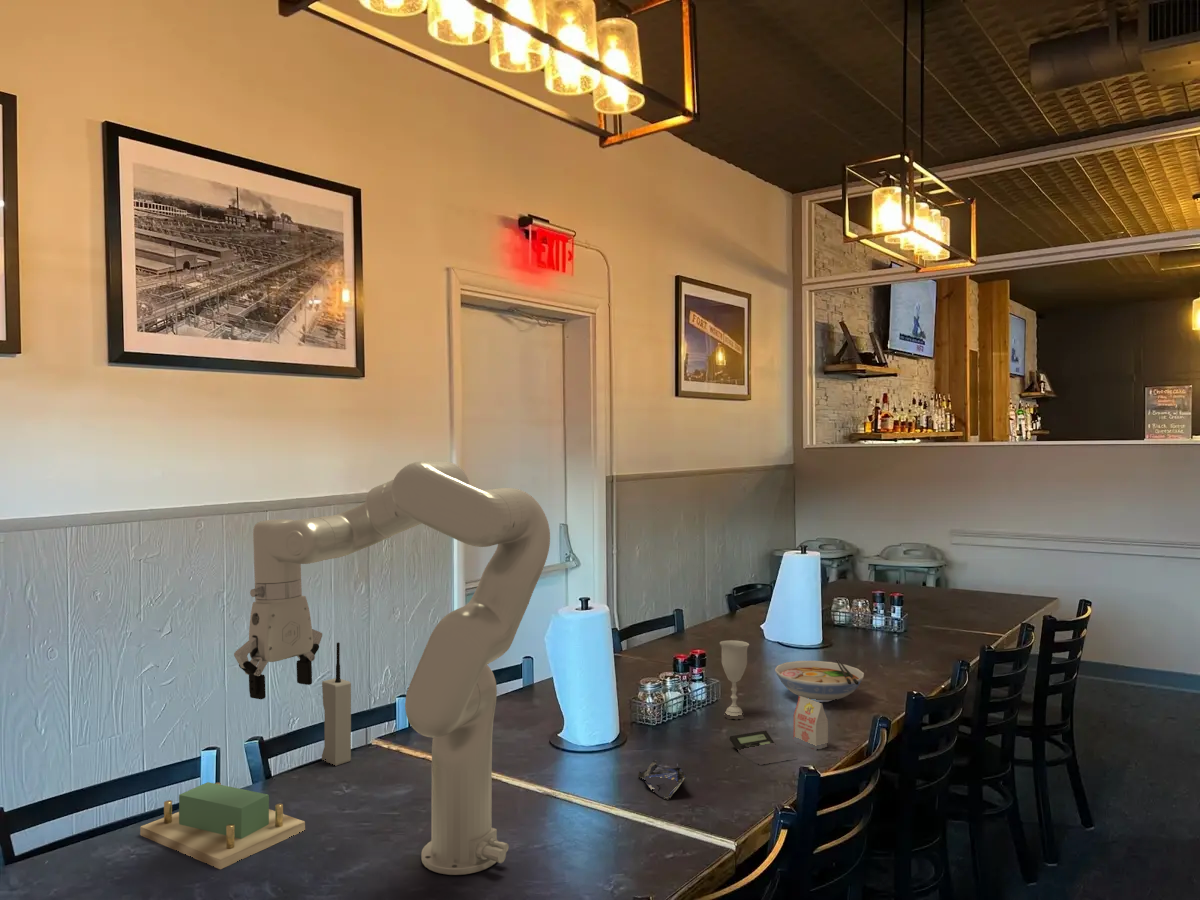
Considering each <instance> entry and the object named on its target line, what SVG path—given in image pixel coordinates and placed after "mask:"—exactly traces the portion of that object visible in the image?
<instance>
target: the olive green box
mask: <svg viewBox="0 0 1200 900" xmlns="http://www.w3.org/2000/svg"><path fill="white" fill-rule="evenodd" d="M215 783H216V782H209V781H207V782H205V783H203V784H201V785H198V786H196V787H194V788H192V789H189V790H187V791H185V792H181V793H180V794H178V805H179V806H178V812H179V824H180V825H185V826H189V827H193V828H197V829H201V830H206V831H210V832H214V833H218V834H222V835H226V826H227V825H228V824H234V825H235V838H239V839H242V838H244V837H246V836H248V835H250V834H252V833H253V832H255V831H257V830H259V829H261V828H263V827H264V826H266V825H268V824H269V809H270V794H267V793H262V792H258V791H253V790H248V789H242V788H239V787H232V786H229V785H223V784H221V785H219V784H215Z"/></svg>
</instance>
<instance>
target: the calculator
mask: <svg viewBox="0 0 1200 900" xmlns="http://www.w3.org/2000/svg"><path fill="white" fill-rule="evenodd" d="M729 741H730V742H731V744H732V745H733V747H734V748H735V749H736V748H737V749H739V750H741V749H744V748H749V747H755V746H759V745H765V744H770V743H775V742H774V740H773V739H772V737H771V736H770V734H769V733H768V731H767V730H761V731H754V732H749V733H743V734H742V733H741V734H737V735H736V734H734V735H730V736H729Z"/></svg>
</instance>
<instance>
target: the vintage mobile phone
mask: <svg viewBox="0 0 1200 900" xmlns="http://www.w3.org/2000/svg"><path fill="white" fill-rule="evenodd" d="M340 648H341V647H340V642H336V664H335V678H331V679H326V680H322V681H321V685H322V686H321V688H322V689H321V690H322V705H323V710H324V737H323V738H324V746H323V751H322V754H321V760H322V761H323V760H324V761H323V762H325V761H326V762H325V763H327V764H329V763H330V765H332V764H333V765H332V766H334V765H335V767H337V766H340V765H342V764H347V763H349V762H350V761H351V760H352V683H351V681H349V680H346V679H341V662H340V658H341V657H340V651H341V649H340ZM325 759H326V760H325Z"/></svg>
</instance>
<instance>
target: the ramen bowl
mask: <svg viewBox="0 0 1200 900" xmlns="http://www.w3.org/2000/svg"><path fill="white" fill-rule="evenodd" d="M774 671H775V674H776V675H777V677H778V678H779V680H780V681H781V684H783V685H784V687H785V688H786V689H787V690H788V691H790V692H791V693H792V694H794V695H796V696H798V697H799V696H802V697H805V698H809V699H816V700H834V701H836V700H835V699H837V700H841V699H844V698H846V697H848V696H849V695H851V694H853V693H854V692H855V691H856V690H857V689H858V687H859V686H860V684H861V683H862V681H863V679H864V677H865V676H864V675H865V673H864V672H863V671H862V670H860V669H859V668H857V667H854V666H851V665H848V664H845V663H844V664H843V662H842V661H840V660H839V659H835V662H834V661H822V660H821V661H820V660H794V661H787V662H783V663H781V664H778V665H776V667H775V669H774Z"/></svg>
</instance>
